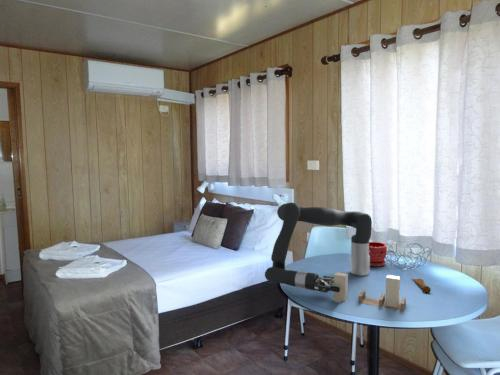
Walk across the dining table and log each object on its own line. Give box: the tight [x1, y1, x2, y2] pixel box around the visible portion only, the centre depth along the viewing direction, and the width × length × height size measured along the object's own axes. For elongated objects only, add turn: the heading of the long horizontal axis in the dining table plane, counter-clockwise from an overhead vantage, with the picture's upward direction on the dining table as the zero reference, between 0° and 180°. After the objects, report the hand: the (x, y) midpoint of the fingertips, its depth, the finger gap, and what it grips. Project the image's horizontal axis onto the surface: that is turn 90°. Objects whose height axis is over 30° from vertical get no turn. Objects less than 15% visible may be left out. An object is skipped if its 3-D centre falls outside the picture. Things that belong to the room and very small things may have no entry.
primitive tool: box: [411, 278, 432, 294], centre depth 174 cm, size 19×6×4 cm, turn 171°
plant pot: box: [369, 241, 388, 267], centre depth 210 cm, size 13×13×12 cm
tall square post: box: [385, 274, 401, 308], centre depth 149 cm, size 4×5×12 cm
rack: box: [358, 289, 407, 312], centre depth 151 cm, size 8×18×4 cm, turn 61°
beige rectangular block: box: [333, 271, 349, 304], centre depth 156 cm, size 4×5×12 cm
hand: (342, 286), depth 156 cm, fingers open, 8 cm apart
